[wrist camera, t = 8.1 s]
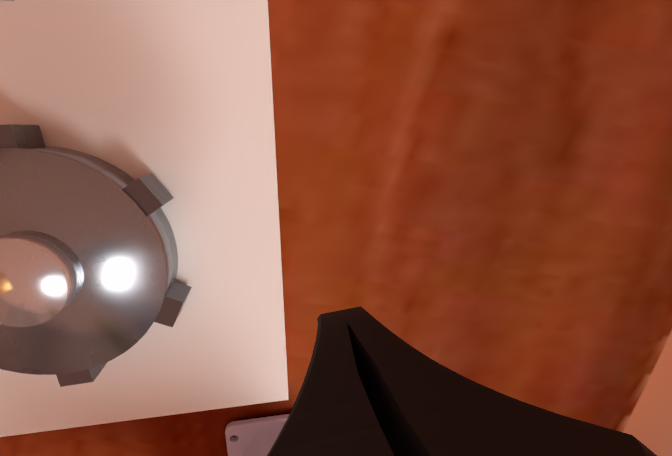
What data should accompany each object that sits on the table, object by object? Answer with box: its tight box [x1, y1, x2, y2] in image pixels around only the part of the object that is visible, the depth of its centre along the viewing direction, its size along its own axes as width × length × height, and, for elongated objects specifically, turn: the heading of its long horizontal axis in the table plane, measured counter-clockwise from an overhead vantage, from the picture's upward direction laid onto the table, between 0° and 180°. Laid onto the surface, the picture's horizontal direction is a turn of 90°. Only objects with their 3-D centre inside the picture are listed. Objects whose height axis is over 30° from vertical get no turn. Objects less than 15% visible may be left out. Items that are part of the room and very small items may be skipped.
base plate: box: [0, 0, 288, 437], centre depth 16 cm, size 22×22×1 cm
